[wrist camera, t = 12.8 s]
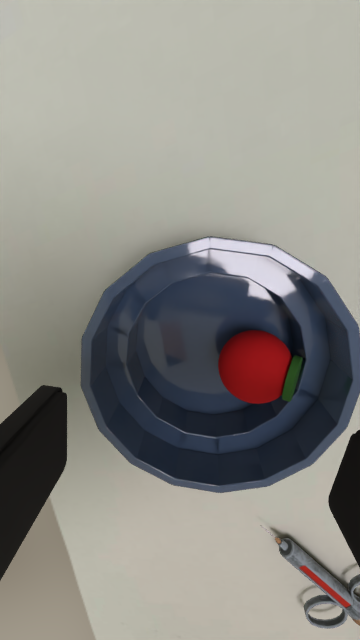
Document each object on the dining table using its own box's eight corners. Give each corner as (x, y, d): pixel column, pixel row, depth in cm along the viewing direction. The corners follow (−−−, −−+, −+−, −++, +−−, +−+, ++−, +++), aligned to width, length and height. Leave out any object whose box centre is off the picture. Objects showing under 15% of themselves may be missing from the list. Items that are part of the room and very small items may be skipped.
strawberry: (201, 399, 15) (280, 432, 13) (212, 330, 14) (299, 354, 12) (228, 374, 18) (294, 397, 16) (238, 317, 17) (310, 334, 15)
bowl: (109, 413, 20) (78, 469, 15) (119, 226, 16) (83, 219, 11) (288, 442, 19) (317, 510, 14) (343, 255, 15) (408, 261, 10)
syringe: (298, 489, 20) (307, 511, 18) (437, 617, 23) (455, 647, 21) (222, 537, 22) (224, 560, 20) (357, 650, 25) (369, 679, 23)
